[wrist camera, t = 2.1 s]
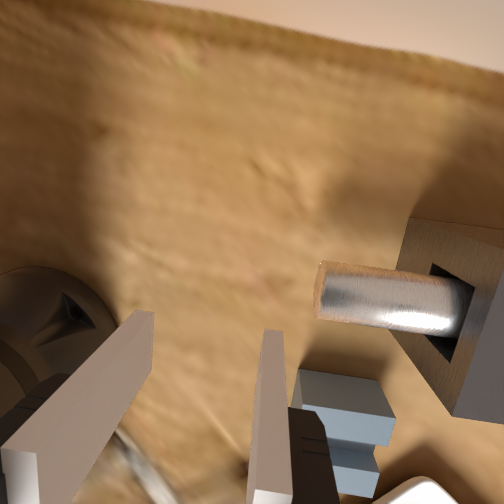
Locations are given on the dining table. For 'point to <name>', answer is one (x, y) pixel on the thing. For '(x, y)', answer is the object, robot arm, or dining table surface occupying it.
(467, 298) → the axle
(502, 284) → the slotted grey block
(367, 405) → the v block
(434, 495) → the salad plate
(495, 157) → the dining table surface
